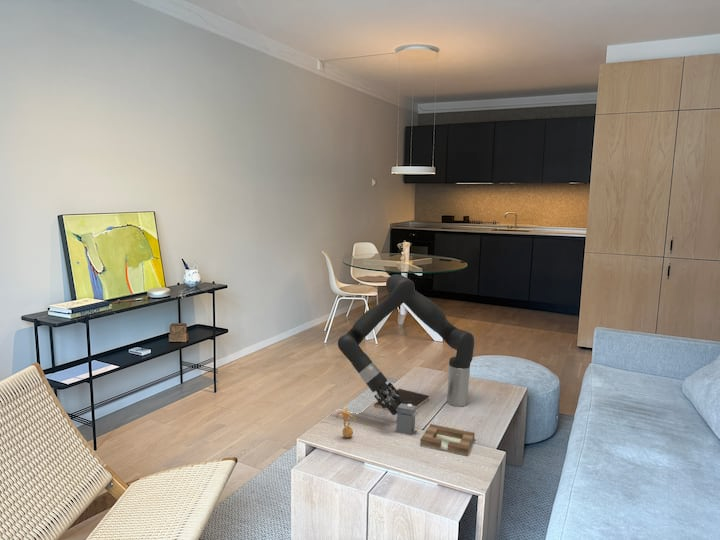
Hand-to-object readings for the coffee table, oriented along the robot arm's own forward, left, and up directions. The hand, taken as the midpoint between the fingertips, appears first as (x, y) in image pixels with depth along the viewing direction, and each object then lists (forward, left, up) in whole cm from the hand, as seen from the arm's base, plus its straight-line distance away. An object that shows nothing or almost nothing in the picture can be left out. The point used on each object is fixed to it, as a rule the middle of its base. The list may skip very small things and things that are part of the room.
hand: (399, 410), depth 198 cm
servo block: (0, +3, -8) cm, 8 cm away
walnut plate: (+2, +20, -8) cm, 21 cm away
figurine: (+16, -15, -8) cm, 23 cm away
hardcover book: (-28, -7, -9) cm, 30 cm away
